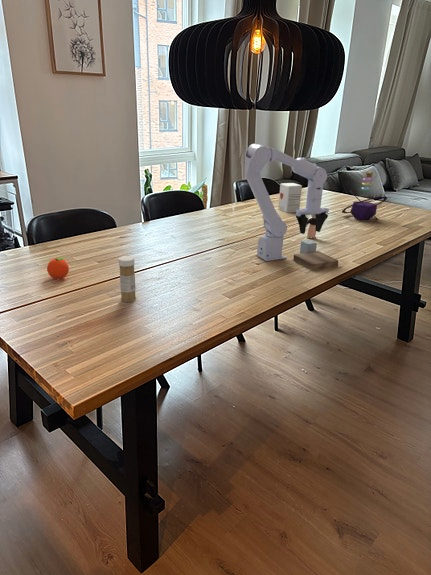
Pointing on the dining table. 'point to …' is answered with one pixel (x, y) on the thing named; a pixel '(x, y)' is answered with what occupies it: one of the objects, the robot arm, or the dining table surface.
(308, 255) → the walnut block
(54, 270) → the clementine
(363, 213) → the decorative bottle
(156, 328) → the dining table surface
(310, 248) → the grey block
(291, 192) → the supplement box
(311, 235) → the grandmother figurine
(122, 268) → the sprinkles bottle
